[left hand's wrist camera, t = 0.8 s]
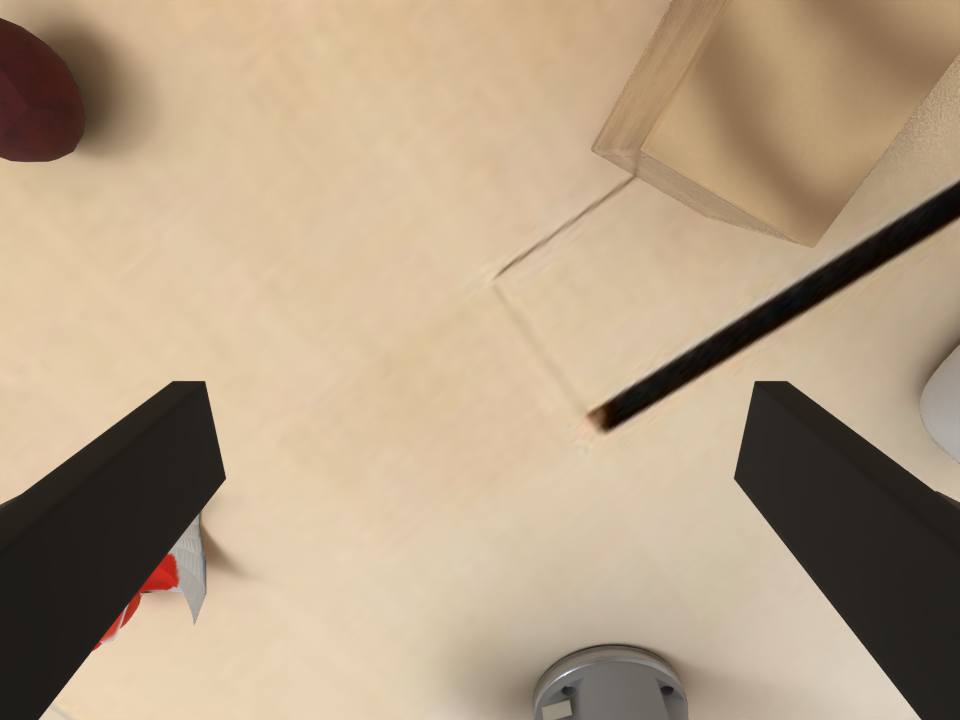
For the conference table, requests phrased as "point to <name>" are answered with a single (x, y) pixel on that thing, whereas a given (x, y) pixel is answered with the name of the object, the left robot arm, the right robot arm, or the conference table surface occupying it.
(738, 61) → the lid
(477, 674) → the conference table surface
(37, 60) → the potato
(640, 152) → the chest
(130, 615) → the fish
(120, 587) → the left robot arm
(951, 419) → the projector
